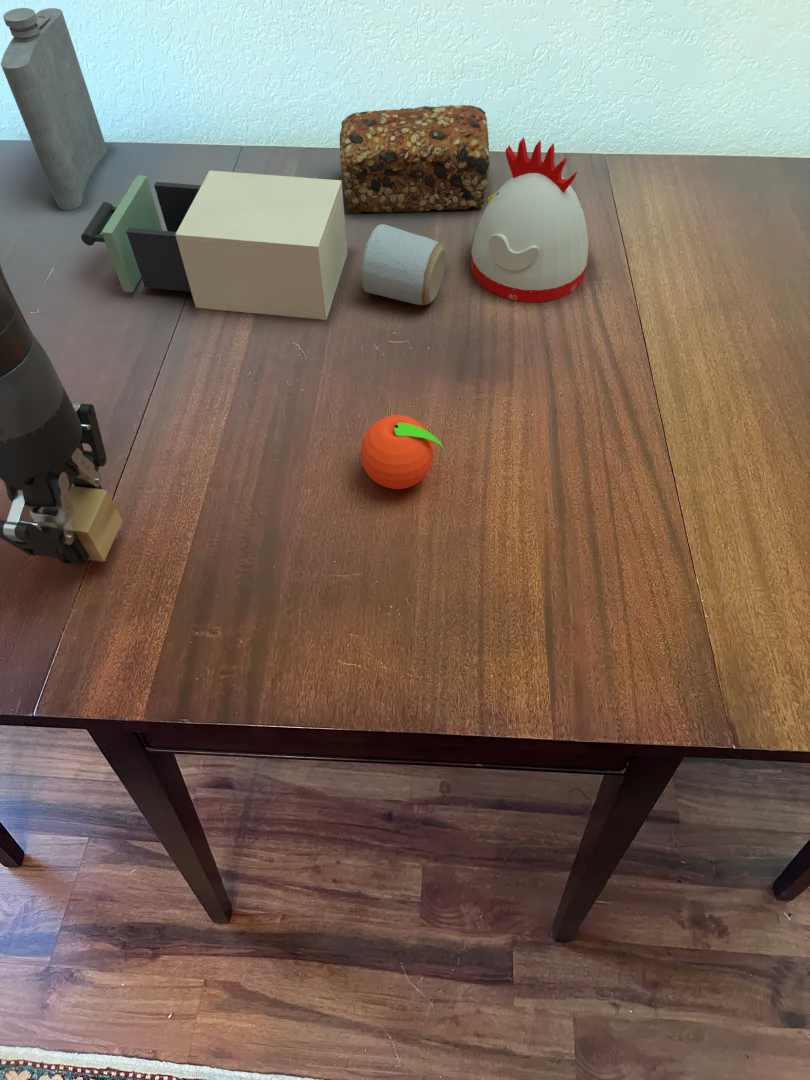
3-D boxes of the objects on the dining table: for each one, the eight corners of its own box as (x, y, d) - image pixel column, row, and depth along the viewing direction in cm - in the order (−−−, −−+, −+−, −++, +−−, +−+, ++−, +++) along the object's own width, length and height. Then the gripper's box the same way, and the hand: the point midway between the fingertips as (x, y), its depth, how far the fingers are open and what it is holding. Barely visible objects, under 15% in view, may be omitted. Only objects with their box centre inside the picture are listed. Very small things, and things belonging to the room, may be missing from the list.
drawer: (87, 288, 92) (63, 228, 85) (122, 231, 98) (101, 172, 92) (243, 302, 90) (230, 243, 84) (267, 243, 96) (257, 184, 90)
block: (55, 555, 68) (35, 525, 65) (75, 514, 71) (57, 483, 67) (104, 562, 68) (87, 532, 64) (122, 520, 70) (107, 489, 67)
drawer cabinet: (195, 308, 91) (174, 234, 83) (225, 243, 98) (209, 170, 90) (326, 320, 89) (318, 246, 82) (347, 254, 97) (341, 180, 89)
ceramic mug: (427, 320, 89) (429, 262, 83) (361, 305, 91) (357, 246, 85) (456, 268, 95) (459, 209, 89) (393, 254, 97) (392, 195, 90)
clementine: (448, 455, 78) (451, 403, 72) (438, 509, 74) (440, 460, 68) (370, 445, 78) (366, 394, 73) (355, 499, 74) (350, 449, 69)
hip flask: (78, 210, 102) (15, 44, 86) (48, 210, 103) (-22, 43, 86) (109, 146, 111) (57, -16, 95) (82, 146, 112) (25, -16, 95)
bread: (480, 169, 107) (486, 94, 99) (486, 214, 101) (493, 138, 93) (345, 172, 107) (339, 96, 99) (343, 217, 101) (336, 140, 93)
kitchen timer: (499, 220, 100) (511, 100, 88) (601, 250, 96) (628, 128, 84) (451, 281, 93) (457, 159, 81) (559, 315, 89) (583, 193, 77)
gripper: (1, 326, 59) (79, 470, 73) (-95, 469, 51) (13, 600, 65) (95, 335, 59) (155, 479, 73) (13, 482, 51) (99, 611, 65)
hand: (88, 535), depth 69 cm, fingers closed on block, 4 cm apart
